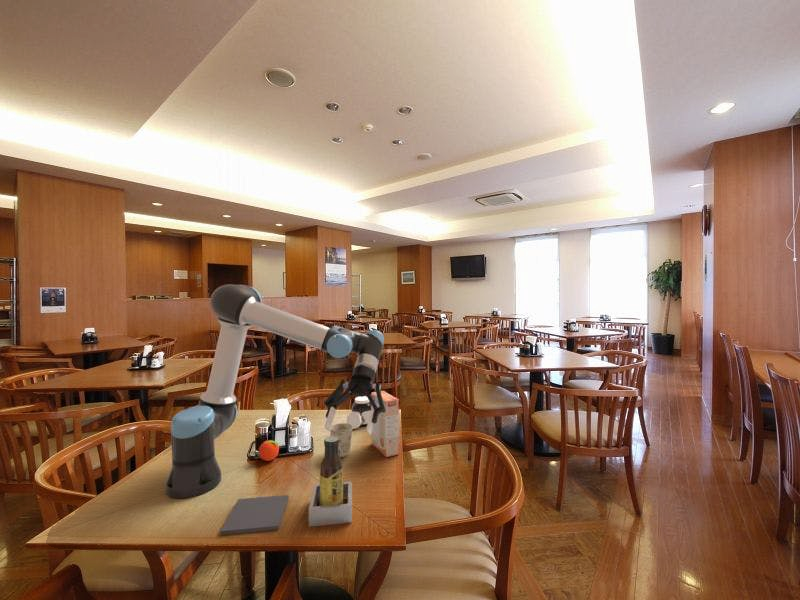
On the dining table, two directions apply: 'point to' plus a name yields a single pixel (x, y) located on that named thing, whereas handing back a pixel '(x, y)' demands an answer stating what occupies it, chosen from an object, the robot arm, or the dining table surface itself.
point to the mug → (342, 437)
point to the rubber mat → (256, 515)
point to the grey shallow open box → (330, 508)
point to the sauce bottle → (331, 474)
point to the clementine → (268, 450)
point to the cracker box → (386, 425)
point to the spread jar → (359, 412)
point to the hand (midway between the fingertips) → (347, 430)
